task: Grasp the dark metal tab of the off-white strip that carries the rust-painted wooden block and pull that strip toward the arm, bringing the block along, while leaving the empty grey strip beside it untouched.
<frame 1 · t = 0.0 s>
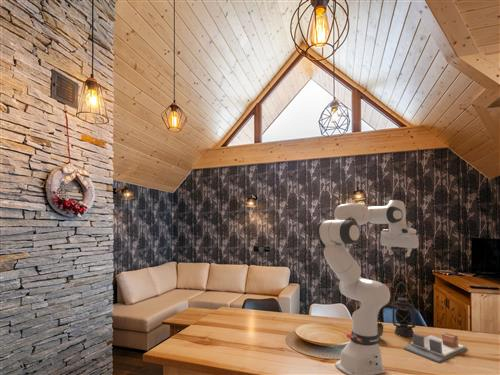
hand: (399, 255, 156), 48 cm above the table, fingers open, 8 cm apart
rust block: (450, 345, 151), point 2 cm above the table, touching white strip
lantern: (404, 334, 171), on the table
grey strip: (428, 337, 156), point 4 cm above the table, slide at 0.0 cm
slate board: (435, 349, 150), on the table
dark ornate pot: (376, 338, 164), on the table
white strip: (445, 342, 148), point 4 cm above the table, slide at 0.0 cm, touching rust block
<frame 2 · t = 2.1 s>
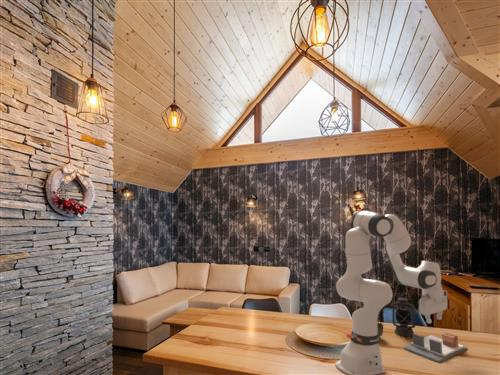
hand: (434, 321, 145), 16 cm above the table, fingers open, 8 cm apart
nothing on the table moved.
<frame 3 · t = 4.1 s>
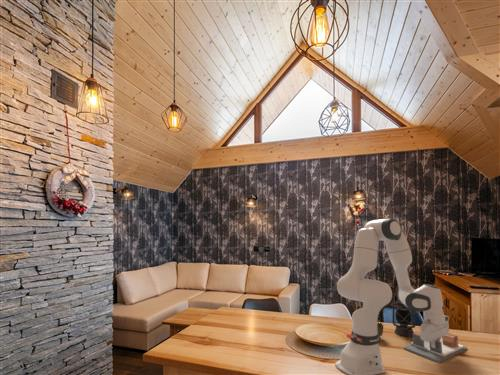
hand: (435, 346, 144), 4 cm above the table, fingers closed on white strip, 2 cm apart
white strip: (445, 342, 148), point 4 cm above the table, slide at 0.0 cm, touching gripper, rust block
everything else where it was.
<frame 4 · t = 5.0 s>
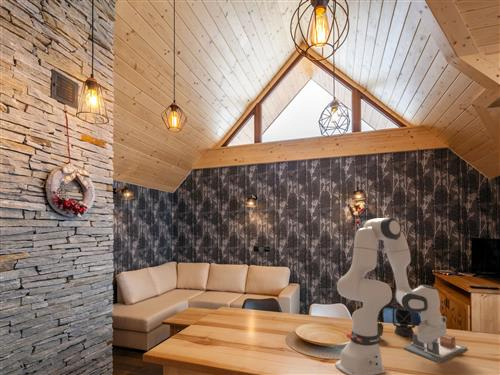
hand: (432, 348, 142), 4 cm above the table, fingers closed on white strip, 2 cm apart
rust block: (448, 346, 149), point 2 cm above the table, touching white strip
white strip: (442, 344, 147), point 4 cm above the table, slide at 2.6 cm, touching gripper, rust block
everything else where it was.
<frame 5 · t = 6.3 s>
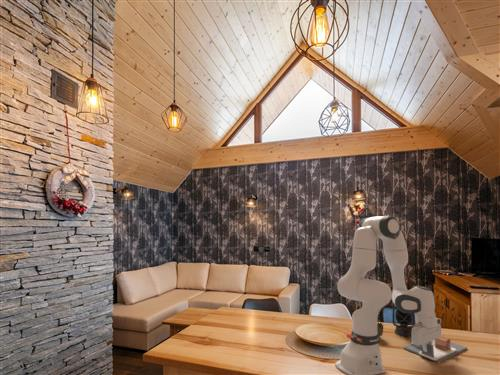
hand: (427, 350, 140), 4 cm above the table, fingers closed on white strip, 2 cm apart
rust block: (443, 348, 147), point 2 cm above the table, touching white strip
white strip: (437, 346, 145), point 4 cm above the table, slide at 7.5 cm, touching gripper, rust block
everything else where it was.
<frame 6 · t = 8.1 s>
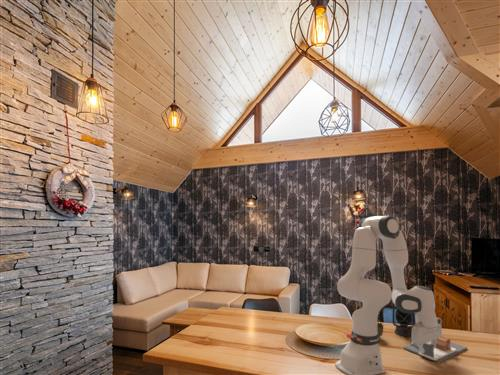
hand: (427, 350, 140), 4 cm above the table, fingers open, 8 cm apart
white strip: (437, 346, 145), point 4 cm above the table, slide at 7.5 cm, touching rust block
everything else where it was.
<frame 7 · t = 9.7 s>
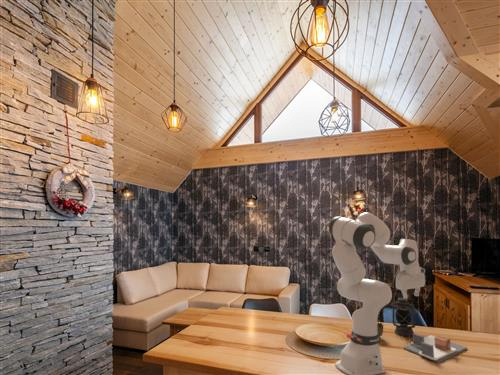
hand: (411, 297, 150), 27 cm above the table, fingers open, 8 cm apart
nothing on the table moved.
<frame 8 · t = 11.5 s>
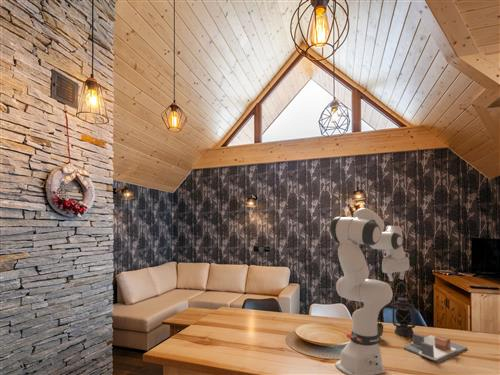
hand: (396, 280, 159), 34 cm above the table, fingers open, 8 cm apart
nothing on the table moved.
at the end: white strip slide at 7.5 cm; rust block inside the target area (0.0 cm from its centre), point 2.0 cm above the table; grey strip slide at 0.0 cm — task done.
